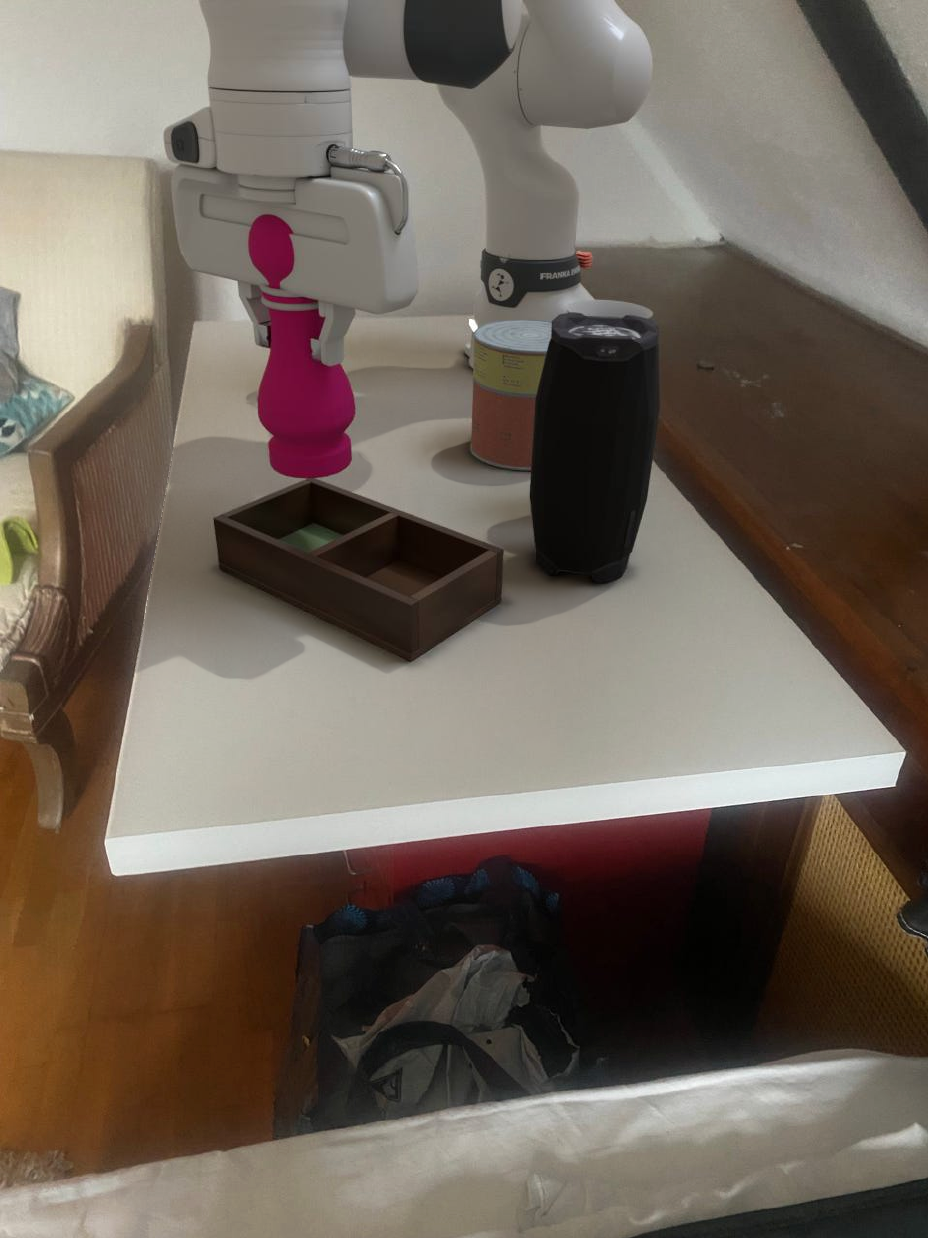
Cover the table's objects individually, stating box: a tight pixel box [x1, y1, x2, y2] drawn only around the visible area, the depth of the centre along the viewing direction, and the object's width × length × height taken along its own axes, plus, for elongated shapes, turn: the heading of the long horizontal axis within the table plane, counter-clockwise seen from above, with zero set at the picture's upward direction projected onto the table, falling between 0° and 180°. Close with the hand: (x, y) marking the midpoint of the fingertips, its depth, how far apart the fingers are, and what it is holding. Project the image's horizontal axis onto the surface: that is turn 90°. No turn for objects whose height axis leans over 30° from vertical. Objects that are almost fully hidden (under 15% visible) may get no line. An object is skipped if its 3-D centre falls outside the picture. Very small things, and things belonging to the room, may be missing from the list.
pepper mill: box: [248, 214, 357, 480], centre depth 68 cm, size 7×7×20 cm
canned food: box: [469, 320, 552, 472], centre depth 97 cm, size 11×11×12 cm
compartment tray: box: [212, 478, 505, 662], centre depth 74 cm, size 11×20×5 cm, turn 52°
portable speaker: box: [528, 312, 661, 584], centre depth 74 cm, size 9×9×20 cm
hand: (298, 354), depth 68 cm, fingers closed on pepper mill, 4 cm apart
